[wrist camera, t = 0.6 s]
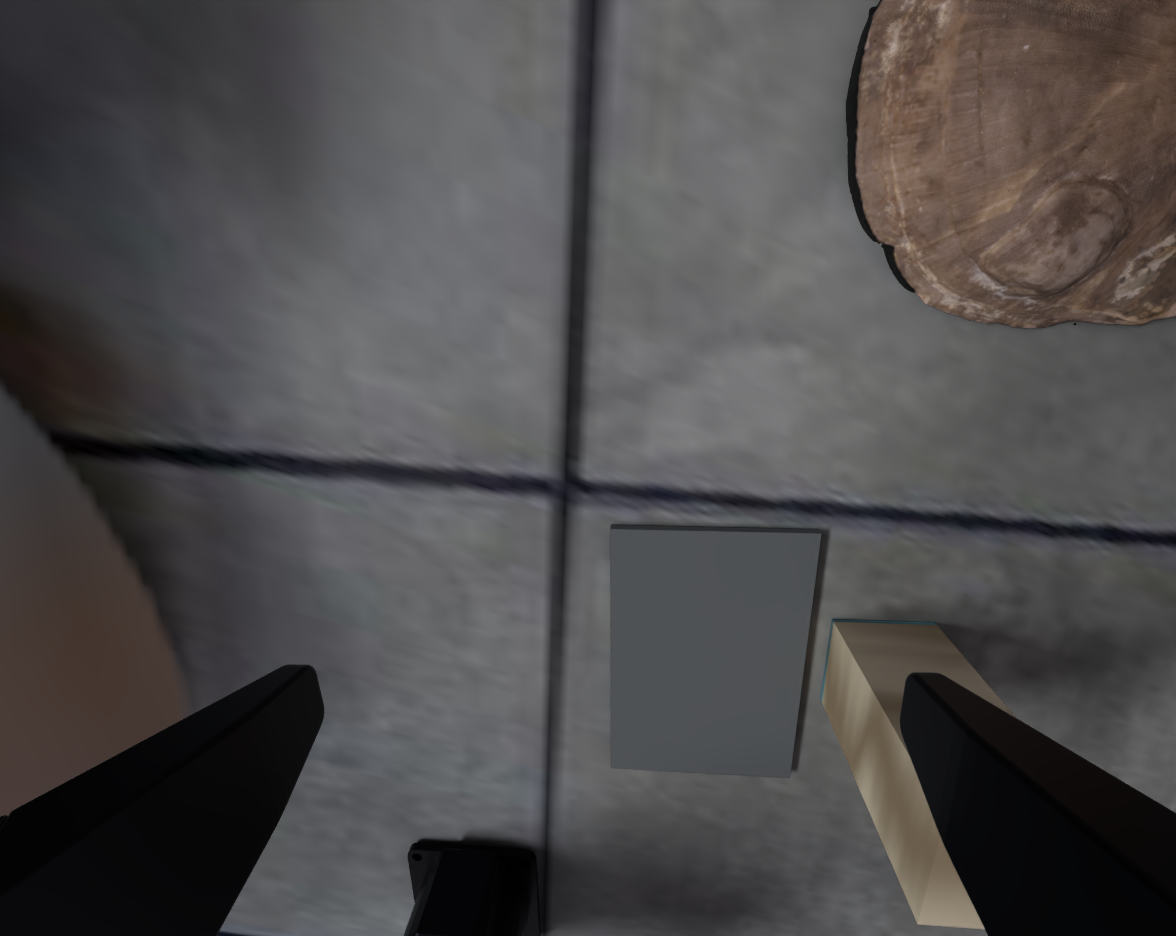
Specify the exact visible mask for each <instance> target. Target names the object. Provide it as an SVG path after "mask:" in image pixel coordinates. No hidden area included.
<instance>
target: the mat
mask: <svg viewBox="0 0 1176 936" xmlns="http://www.w3.org/2000/svg"><path fill="white" fill-rule="evenodd" d="M820 541H821V532H820V531H819V529H785V528H737V527H689V526H640V525H611V528H610V586H611V768H616V769H634V770H653V771H671V772H689V773H707V774H725V775H743V776H761V777H779V778H790V774H791V766H792V758H793V750H794V743H795V735H796V727H797V719H798V712H799V704H800V696H801V688H802V681H803V673H804V665H805V657H806V650H807V642H808V634H809V626H810V619H811V611H812V603H813V595H814V588H815V580H816V572H817V564H818V557H819V549H820Z"/></svg>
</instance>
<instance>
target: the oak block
mask: <svg viewBox="0 0 1176 936" xmlns="http://www.w3.org/2000/svg"><path fill="white" fill-rule="evenodd" d="M913 672H935V673H940V674H943V675H944V676H946V677H948V678H950V679H951V680H953V681H955V682H956V683H958V684H960V685H961V686H963V687H965V688H966V689H968V690H970V691H971V692H973V693H975V694H976V695H978V696H980V697H981V698H983V699H985V700H987V701H988V702H990V703H992V704H993V705H995V706H997V707H998V708H1000V709H1002V710H1003V711H1005V712H1007V713H1008V714H1010V715H1012V716H1013V717H1015V716H1014V715H1013V714H1012V712H1011V711H1010V710H1009V709H1008V708H1007V707H1006V705H1005V704H1004V703H1003V702H1002V701H1001V700H1000V698H999V697H998V696H997V695H996V694H995V693H994V691H993V690H992V689H991V688H990V687H989V685H988V684H987V683H986V682H985V681H984V680H983V678H982V677H981V676H980V675H979V674H978V673H977V671H976V670H975V669H974V668H973V667H972V666H971V664H970V663H969V662H968V661H967V660H966V658H965V657H964V656H963V655H962V654H961V653H960V651H959V650H958V649H957V648H956V647H955V646H954V644H953V643H952V642H951V641H950V640H949V639H948V637H947V636H946V635H945V634H944V633H943V631H942V630H941V629H940V628H939V627H938V626H937V624H936V623H935V622H910V621H878V620H847V619H832V623H831V630H830V637H829V644H828V651H827V657H826V664H825V671H824V678H823V685H822V692H821V701H822V704H823V706H824V708H825V711H826V713H827V715H828V718H829V720H830V722H831V725H832V727H833V729H834V732H835V734H836V736H837V738H838V741H839V743H840V745H841V748H842V750H843V752H844V755H845V757H846V759H847V762H848V764H849V766H850V769H851V771H852V773H853V775H854V778H855V780H856V782H857V785H858V787H859V789H860V792H861V794H862V796H863V799H864V801H865V803H866V806H867V808H868V810H869V813H870V815H871V817H872V819H873V822H874V824H875V826H876V829H877V831H878V833H879V836H880V838H881V840H882V843H883V845H884V847H885V850H886V852H887V854H888V857H889V859H890V861H891V863H892V866H893V868H894V870H895V873H896V875H897V877H898V880H899V882H900V884H901V887H902V889H903V891H904V894H905V896H906V898H907V900H908V903H909V905H910V907H911V910H912V912H913V914H914V917H915V919H916V921H917V924H920V925H934V926H948V927H962V928H976V929H985V928H984V926H983V924H982V922H981V920H980V918H979V916H978V914H977V912H976V910H975V908H974V906H973V904H972V902H971V900H970V898H969V896H968V894H967V892H966V890H965V888H964V886H963V884H962V882H961V880H960V878H959V876H958V874H957V872H956V870H955V868H954V866H953V864H952V861H951V859H950V857H949V855H948V853H947V851H946V849H945V846H944V844H943V842H942V839H941V837H940V834H939V832H938V829H937V827H936V824H935V822H934V819H933V816H932V814H931V811H930V809H929V806H928V803H927V801H926V798H925V795H924V793H923V790H922V787H921V785H920V782H919V779H918V777H917V774H916V771H915V769H914V766H913V764H912V761H911V758H910V756H909V753H908V750H907V748H906V745H905V742H904V740H903V737H902V734H901V729H900V713H901V706H902V700H903V693H904V687H905V681H906V678H907V676H908V675H909V674H911V673H913ZM1015 718H1016V717H1015Z"/></svg>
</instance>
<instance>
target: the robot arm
mask: <svg viewBox="0 0 1176 936" xmlns="http://www.w3.org/2000/svg"><path fill="white" fill-rule="evenodd" d="M323 718H324V704H323V699H322V695H321V691H320V686H319V682H318V678H317V674H316V671H315V669H314V668H313V667H312V666H310V665H292V664H291V665H284V666H282V667H280V668H278V669H277V670H275V671H273V672H271V673H269V674H267V675H265V676H263V677H262V678H260V679H258V680H256V681H254V682H252V683H250V684H248V685H247V686H245V687H243V688H241V689H239V690H237V691H235V692H233V693H232V694H230V695H228V696H226V697H224V698H222V699H220V700H219V701H217V702H215V703H213V704H211V705H209V706H207V707H205V708H204V709H202V710H200V711H198V712H196V713H194V714H192V715H190V716H189V717H187V718H185V719H183V720H181V721H179V722H177V723H175V724H174V725H172V726H170V727H168V728H166V729H165V730H162V731H161V732H159V733H157V734H155V735H153V736H151V737H149V738H147V739H146V740H144V741H142V742H140V743H138V744H136V745H134V746H132V747H131V748H129V749H127V750H125V751H123V752H121V753H119V754H117V755H116V756H114V757H112V758H110V759H108V760H107V761H105V762H103V763H101V764H99V765H97V766H95V767H93V768H91V769H89V770H88V771H86V772H84V773H82V774H80V775H78V776H76V777H75V778H73V779H71V780H69V781H67V782H65V783H63V784H61V785H59V786H58V787H56V788H54V789H52V790H50V791H48V792H46V793H45V794H43V795H41V796H39V797H37V798H35V799H33V800H32V801H30V802H28V803H26V804H24V805H22V806H20V807H18V808H16V809H15V810H13V811H12V812H11V813H10V814H9V816H7V815H4V816H1V817H0V936H217V934H218V932H219V930H220V928H221V927H222V925H223V923H224V921H225V919H226V917H227V916H228V914H229V912H230V910H231V908H232V907H233V905H234V903H235V901H236V899H237V897H238V896H239V894H240V892H241V890H242V888H243V886H244V885H245V883H246V881H247V879H248V877H249V876H250V874H251V872H252V870H253V868H254V866H255V865H256V863H257V861H258V859H259V857H260V855H261V854H262V852H263V850H264V848H265V846H266V845H267V843H268V841H269V839H270V837H271V835H272V833H273V831H274V830H275V828H276V826H277V824H278V822H279V820H280V818H281V816H282V814H283V811H284V809H285V807H286V805H287V803H288V801H289V798H290V796H291V794H292V791H293V789H294V787H295V785H296V782H297V780H298V778H299V775H300V773H301V771H302V768H303V766H304V764H305V762H306V759H307V757H308V755H309V752H310V750H311V748H312V745H313V743H314V741H315V739H316V736H317V734H318V732H319V729H320V727H321V725H322V722H323ZM900 729H901V734H902V737H903V740H904V742H905V745H906V748H907V750H908V753H909V756H910V758H911V761H912V764H913V766H914V769H915V771H916V774H917V777H918V779H919V782H920V785H921V787H922V790H923V793H924V795H925V798H926V801H927V803H928V806H929V809H930V811H931V814H932V816H933V819H934V822H935V824H936V827H937V829H938V832H939V834H940V837H941V839H942V842H943V844H944V846H945V849H946V851H947V853H948V855H949V857H950V859H951V861H952V864H953V866H954V868H955V870H956V872H957V874H958V876H959V878H960V880H961V882H962V884H963V886H964V888H965V890H966V892H967V894H968V896H969V898H970V900H971V902H972V904H973V906H974V908H975V910H976V912H977V914H978V916H979V918H980V920H981V922H982V924H983V926H984V928H985V930H986V932H987V934H988V936H1176V813H1175V812H1173V811H1171V810H1170V809H1168V808H1166V807H1165V806H1163V805H1161V804H1160V803H1158V802H1156V801H1155V800H1153V799H1151V798H1150V797H1148V796H1146V795H1144V794H1143V793H1141V792H1139V791H1138V790H1136V789H1134V788H1133V787H1131V786H1129V785H1128V784H1126V783H1124V782H1123V781H1121V780H1119V779H1118V778H1116V777H1114V776H1113V775H1111V774H1109V773H1107V772H1106V771H1104V770H1102V769H1101V768H1099V767H1097V766H1096V765H1094V764H1092V763H1091V762H1089V761H1087V760H1086V759H1084V758H1082V757H1081V756H1079V755H1077V754H1076V753H1074V752H1072V751H1071V750H1069V749H1067V748H1065V747H1064V746H1062V745H1060V744H1059V743H1057V742H1055V741H1054V740H1052V739H1050V738H1049V737H1047V736H1045V735H1044V734H1042V733H1040V732H1039V731H1037V730H1035V729H1034V728H1032V727H1030V726H1029V725H1027V724H1025V723H1023V722H1022V721H1020V720H1018V719H1017V718H1015V717H1013V716H1012V715H1010V714H1008V713H1007V712H1005V711H1003V710H1002V709H1000V708H998V707H997V706H995V705H993V704H992V703H990V702H988V701H987V700H985V699H983V698H981V697H980V696H978V695H976V694H975V693H973V692H971V691H970V690H968V689H966V688H965V687H963V686H961V685H960V684H958V683H956V682H955V681H953V680H951V679H950V678H948V677H946V676H944V675H943V674H940V673H935V672H913V673H911V674H909V675H908V676H907V678H906V681H905V687H904V693H903V700H902V706H901V713H900ZM408 862H409V869H410V875H411V881H412V888H413V894H414V900H415V905H414V908H413V911H412V913H411V916H410V919H409V922H408V925H407V928H406V930H405V933H404V936H540V935H541V927H540V910H539V893H538V876H537V859H536V855H535V854H534V853H533V852H532V851H530V850H523V849H508V848H493V847H478V846H464V845H449V844H434V843H414V844H412V845H411V847H410V850H409V852H408Z"/></svg>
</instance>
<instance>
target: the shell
mask: <svg viewBox="0 0 1176 936" xmlns="http://www.w3.org/2000/svg"><path fill="white" fill-rule="evenodd" d="M846 123H847V137H848V182H849V187H850V192H851V195H852V200H853V203H854V207H855V210H856V213H857V216H858V219H859V221H860V224H861V226H862V227H863V229H864V231H865V232H866V234H867V235H868V236H869V237H870V238H871V239H872V240H873V241H875V242H877V243H878V244H880V243H882V248H884V252H885V256H886V259H887V262H888V264H889V267H890V269H891V270H892V272H893V274H894V276H895V277H896V279H897V280H898V281H899V283H900V284H901V285H902V286H903V287H904V288H905V289H907V290H909V291H911V292H916V294H917V295H918V296H919V297H920V298H921V299H922V301H923V302H924V303H925V304H927V305H929V306H932V307H935V308H936V309H939V310H941V311H943V312H945V313H950V314H952V315H957V316H960V317H962V318H965V319H968V320H975V321H977V322H982V323H986V324H990V323H1000V324H1003V325H1008V326H1012V327H1017V328H1042V327H1048V326H1050V325H1052V326H1053V325H1055V324H1059V323H1063V322H1067V321H1077V322H1090V323H1095V324H1107V325H1110V324H1121V325H1142V324H1145V323H1147V322H1150V321H1152V320H1158V319H1164V318H1169V317H1174V316H1176V0H880V2H879V3H878V5H877V6H876V7H872V8H870V10H869V17H868V20H867V23H866V25H865V27H864V30H863V32H862V35H861V38H860V42H859V45H858V49H857V53H856V56H855V61H854V64H853V68H852V74H851V78H850V83H849V89H848V94H847V100H846ZM1073 325H1076V323H1074V324H1073Z"/></svg>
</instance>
